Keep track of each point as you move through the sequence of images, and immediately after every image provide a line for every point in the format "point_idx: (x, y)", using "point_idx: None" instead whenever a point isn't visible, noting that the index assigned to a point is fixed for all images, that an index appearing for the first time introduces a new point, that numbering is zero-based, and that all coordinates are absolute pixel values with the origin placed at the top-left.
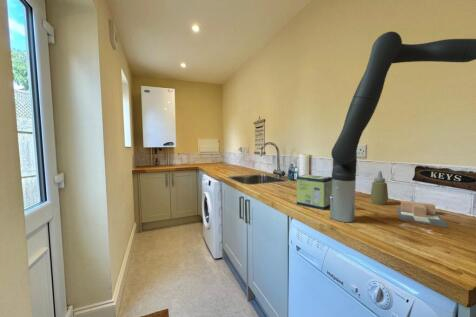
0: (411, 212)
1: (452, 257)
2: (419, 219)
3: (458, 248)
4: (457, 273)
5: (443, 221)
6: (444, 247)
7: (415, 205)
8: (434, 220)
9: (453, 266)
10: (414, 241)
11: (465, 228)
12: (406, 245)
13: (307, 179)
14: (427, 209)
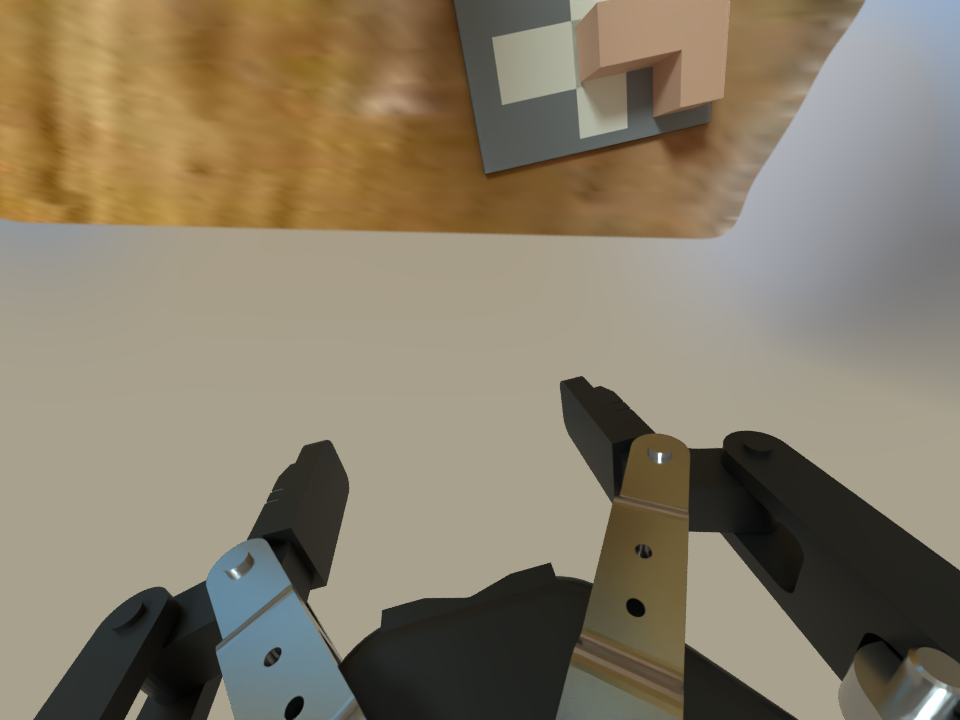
0: None
1: (163, 182)
2: (525, 56)
3: (274, 198)
4: (39, 194)
5: (560, 151)
6: (239, 160)
7: (637, 6)
8: (552, 118)
9: (84, 185)
10: (197, 59)
11: (531, 219)
12: (113, 32)
13: None
14: (666, 78)
